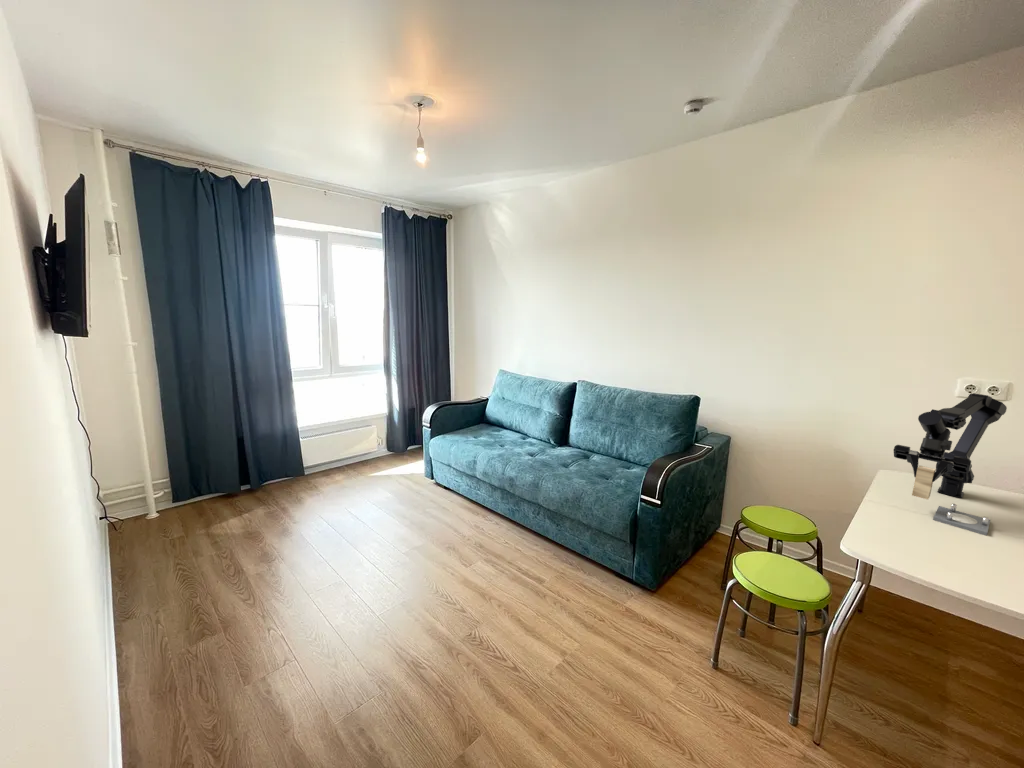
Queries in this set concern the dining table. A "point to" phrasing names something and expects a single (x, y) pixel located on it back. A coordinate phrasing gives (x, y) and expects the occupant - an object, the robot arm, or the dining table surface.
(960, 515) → the plate
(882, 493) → the dining table surface
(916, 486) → the maple block
